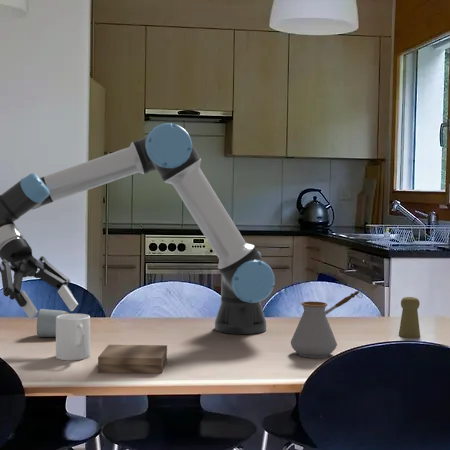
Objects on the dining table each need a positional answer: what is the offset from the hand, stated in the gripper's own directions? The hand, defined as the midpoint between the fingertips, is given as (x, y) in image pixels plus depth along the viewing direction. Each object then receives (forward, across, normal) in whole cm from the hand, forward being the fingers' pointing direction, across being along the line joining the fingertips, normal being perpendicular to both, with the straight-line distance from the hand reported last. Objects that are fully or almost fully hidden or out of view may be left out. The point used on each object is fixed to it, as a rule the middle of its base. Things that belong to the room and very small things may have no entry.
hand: (55, 311), depth 169 cm
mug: (+12, -1, -4) cm, 13 cm away
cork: (+54, -73, +39) cm, 99 cm away
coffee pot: (+46, -40, +31) cm, 69 cm away
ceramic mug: (-5, -17, -20) cm, 27 cm away
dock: (+24, -2, +8) cm, 25 cm away
